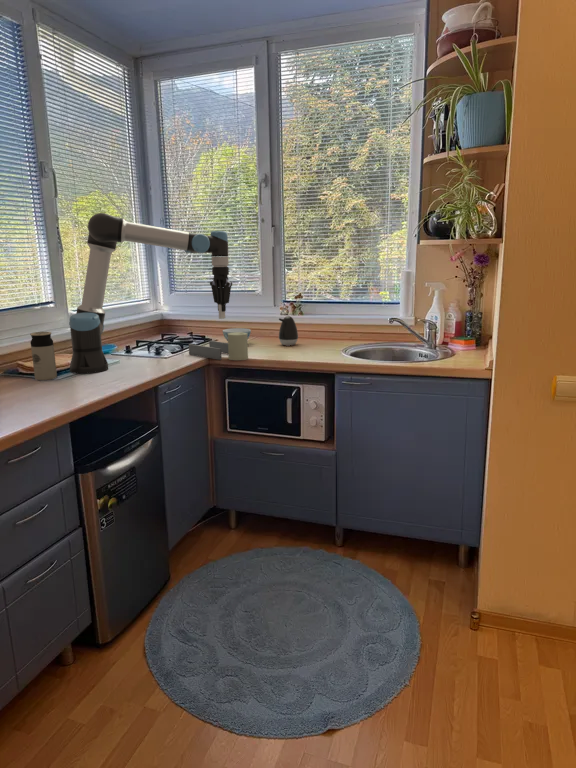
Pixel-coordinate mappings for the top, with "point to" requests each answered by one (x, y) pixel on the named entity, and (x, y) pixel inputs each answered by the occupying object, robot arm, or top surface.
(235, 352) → the can
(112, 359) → the top surface
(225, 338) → the chinaware
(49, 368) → the travel mug
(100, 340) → the robot arm
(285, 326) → the pump dispenser
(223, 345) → the channel
